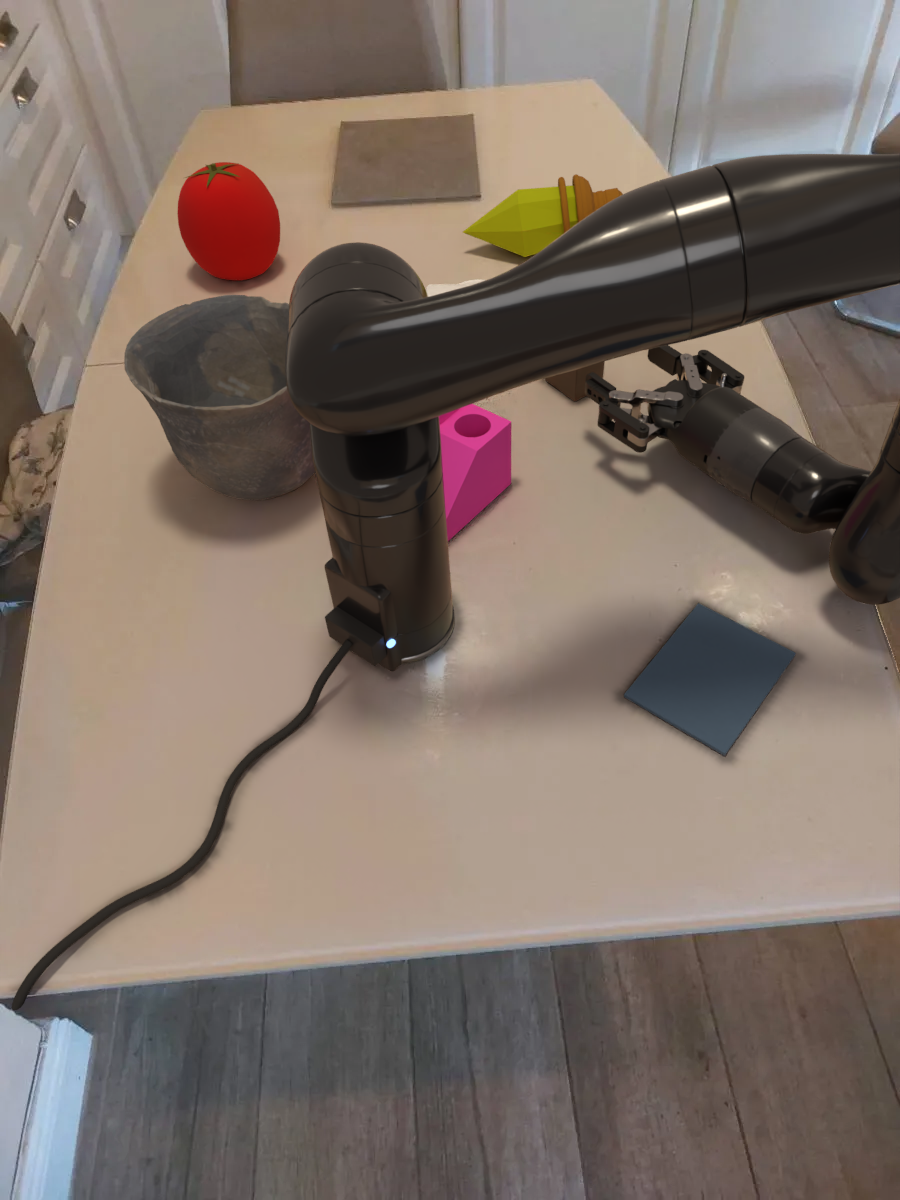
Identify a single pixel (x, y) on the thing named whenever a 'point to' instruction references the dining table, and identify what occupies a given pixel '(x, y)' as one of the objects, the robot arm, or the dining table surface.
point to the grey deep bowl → (225, 394)
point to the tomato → (229, 221)
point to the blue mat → (710, 678)
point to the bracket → (473, 462)
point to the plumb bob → (539, 215)
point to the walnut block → (575, 380)
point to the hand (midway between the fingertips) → (619, 364)
